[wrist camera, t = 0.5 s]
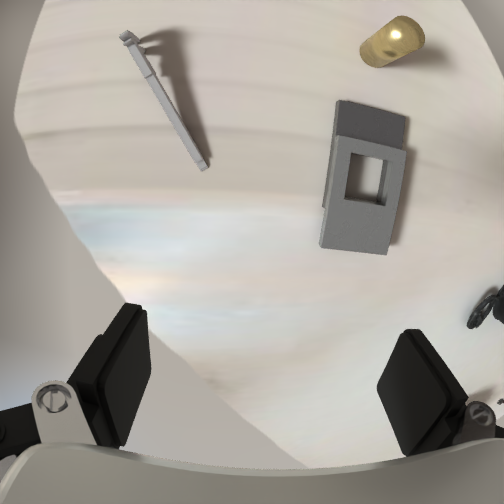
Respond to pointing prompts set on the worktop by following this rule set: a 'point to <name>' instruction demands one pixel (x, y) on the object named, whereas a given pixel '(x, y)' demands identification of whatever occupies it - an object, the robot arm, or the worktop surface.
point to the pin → (392, 42)
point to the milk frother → (488, 310)
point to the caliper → (162, 96)
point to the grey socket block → (335, 202)
